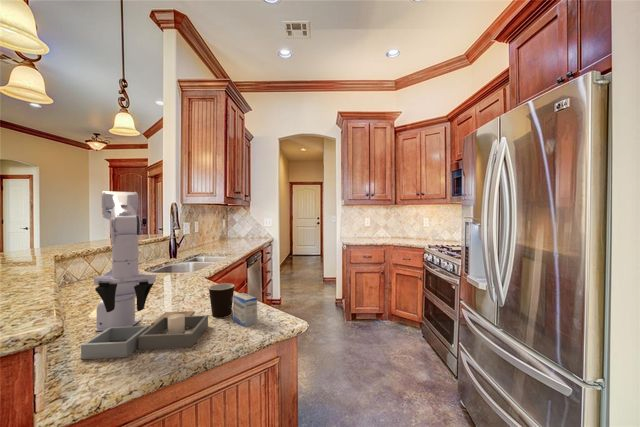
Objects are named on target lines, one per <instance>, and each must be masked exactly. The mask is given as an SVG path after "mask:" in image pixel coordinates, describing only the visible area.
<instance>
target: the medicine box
mask: <svg viewBox="0 0 640 427" xmlns="http://www.w3.org/2000/svg"><path fill="white" fill-rule="evenodd" d="M232 321H233V322H234V323H236V324H238V325H240V326H243V327H245V328H248V327H250V326H254V325H256V324H258V297H255V296H253V295H252V294H251V295H250V294H248V293H246V292H243V293H238V294H233V303H232Z"/></svg>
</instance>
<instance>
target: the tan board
mask: <svg viewBox="0 0 640 427" xmlns="http://www.w3.org/2000/svg"><path fill="white" fill-rule="evenodd" d="M174 314H184V315H185V316H193V314H195V311H194V310H193V311H192V310H191V311H190V310H189V311H186V310H185V311H166V312H164V313H162V314H161V315H160V316H158V318H156V319H155V320H153V321H152V322H151V323H150V326H152V325H154V324H155V323H156V322H157V321H159V320H160V319H161V318H162V317H169V316H171V315H174Z"/></svg>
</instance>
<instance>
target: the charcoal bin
mask: <svg viewBox="0 0 640 427" xmlns="http://www.w3.org/2000/svg"><path fill="white" fill-rule="evenodd" d="M208 327H209V315H208V314H207V315H206V314H205V315H204V314H203V315H191V316H185V329H192V330H191V331H190V332H185V333H179V334H168V333H162V332H163V331H164V330H168V317H162V318H161V319H160V320H159V321H157V322H156V323H155V324H153V325H150V326H149V329H147V330H146V331H145V332H143V333H142V334H141V335H140V336H138V348H137V350H138V351H139V350H141V351H142V350H158V349H159V350H163V349H178V348H179V349H182V348H193V347H194V345H195V344H196V343H197V341H198V340H199V338H200V337H201V336H202V335H203V333H205V330H207V328H208ZM160 332H161V333H160ZM159 333H160V334H159Z"/></svg>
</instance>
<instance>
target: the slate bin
mask: <svg viewBox="0 0 640 427" xmlns="http://www.w3.org/2000/svg"><path fill="white" fill-rule="evenodd" d="M149 328H150V325H133V326H126V327H109V328H108V329H106V330H105V331H100V332H99V333H98V334H96V335H95V336H93V337H92V338H90V339H89V340H87V341H85V342H83V343H82V344H80V360H91V359H93V360H95V359H109V358H110V359H113V358H127V357H128V356H130V354H132V353H133V352H134V351H135V350H136V349H138V336H140V335H141V334H142V333H143V332H145V331H146V330H147V329H149ZM109 341H110V342H109Z"/></svg>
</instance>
